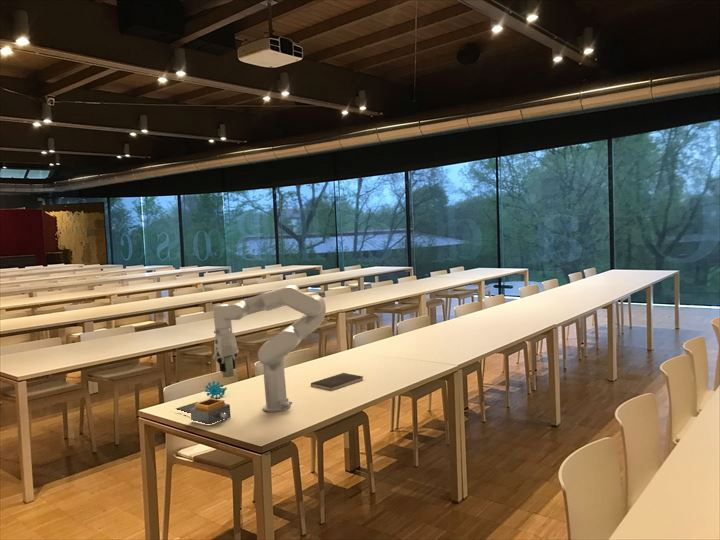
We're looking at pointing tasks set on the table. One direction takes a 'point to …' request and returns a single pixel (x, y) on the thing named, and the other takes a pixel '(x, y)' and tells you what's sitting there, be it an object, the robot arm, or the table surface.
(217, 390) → the gear
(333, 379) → the hardcover book
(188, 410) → the dark grey flat slab
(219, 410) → the box
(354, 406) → the table surface
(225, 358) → the spout can
